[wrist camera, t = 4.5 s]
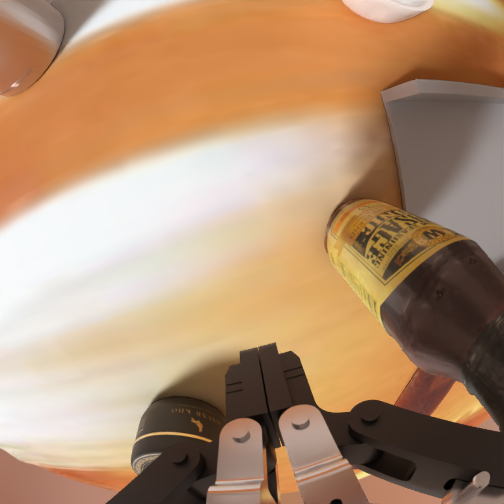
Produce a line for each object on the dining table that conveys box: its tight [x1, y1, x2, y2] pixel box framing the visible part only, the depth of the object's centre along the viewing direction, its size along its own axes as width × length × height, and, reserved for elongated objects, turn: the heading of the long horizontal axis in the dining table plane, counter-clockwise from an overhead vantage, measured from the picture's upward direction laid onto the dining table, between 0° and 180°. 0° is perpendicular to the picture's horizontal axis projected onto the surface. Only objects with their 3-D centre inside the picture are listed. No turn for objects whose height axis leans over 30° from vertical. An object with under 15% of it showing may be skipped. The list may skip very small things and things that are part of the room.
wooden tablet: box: [351, 368, 456, 470], centre depth 31 cm, size 27×10×2 cm, turn 168°
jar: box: [131, 397, 226, 475], centre depth 23 cm, size 10×10×8 cm
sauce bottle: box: [325, 199, 504, 433], centre depth 12 cm, size 7×6×20 cm
